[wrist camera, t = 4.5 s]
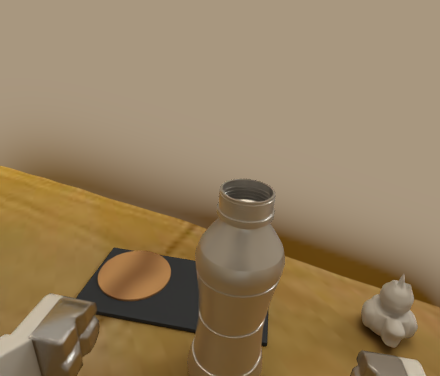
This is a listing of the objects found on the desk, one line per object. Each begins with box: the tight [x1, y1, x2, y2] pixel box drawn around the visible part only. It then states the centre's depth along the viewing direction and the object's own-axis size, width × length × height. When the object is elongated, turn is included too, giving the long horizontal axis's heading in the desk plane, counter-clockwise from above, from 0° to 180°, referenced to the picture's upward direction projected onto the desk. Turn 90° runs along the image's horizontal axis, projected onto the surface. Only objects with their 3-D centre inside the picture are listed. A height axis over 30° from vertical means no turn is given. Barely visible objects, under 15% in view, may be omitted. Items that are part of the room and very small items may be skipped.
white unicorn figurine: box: [361, 274, 418, 348], centre depth 34 cm, size 5×7×8 cm
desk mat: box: [76, 248, 268, 346], centre depth 39 cm, size 22×11×1 cm, turn 81°
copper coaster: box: [98, 251, 171, 301], centre depth 41 cm, size 9×9×1 cm
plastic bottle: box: [187, 179, 285, 376], centre depth 26 cm, size 6×7×20 cm
